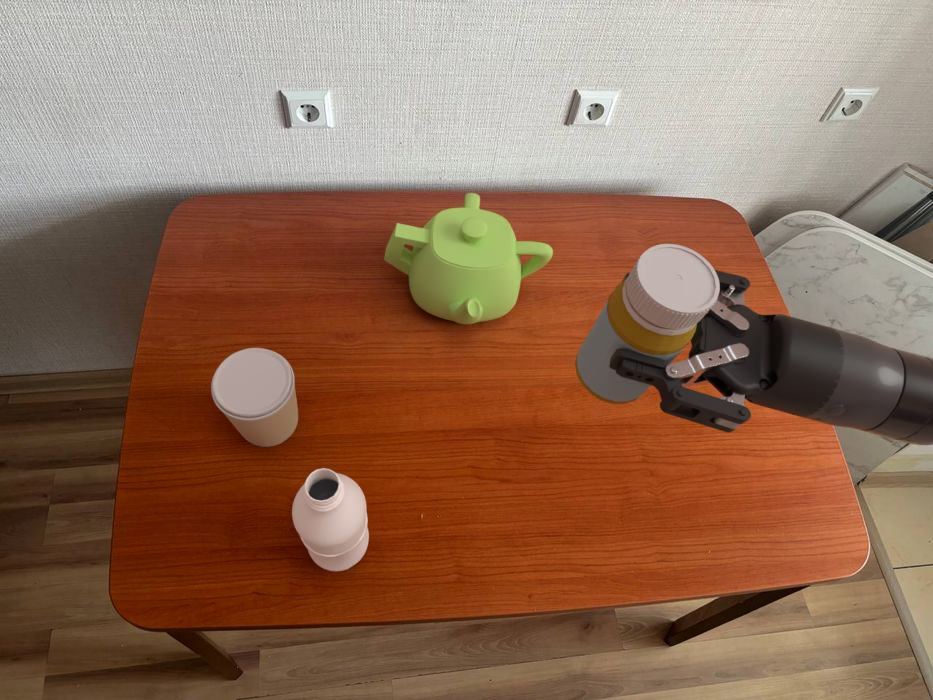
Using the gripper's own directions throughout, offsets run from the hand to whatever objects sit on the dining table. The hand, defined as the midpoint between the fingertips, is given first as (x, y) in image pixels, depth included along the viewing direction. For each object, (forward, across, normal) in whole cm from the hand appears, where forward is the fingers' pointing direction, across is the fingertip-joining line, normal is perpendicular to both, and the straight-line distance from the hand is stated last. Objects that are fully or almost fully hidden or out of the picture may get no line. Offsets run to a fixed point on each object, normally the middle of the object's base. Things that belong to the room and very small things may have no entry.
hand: (618, 318), depth 48 cm
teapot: (+15, +25, -38) cm, 47 cm away
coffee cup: (+35, -4, -38) cm, 51 cm away
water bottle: (+20, -16, -38) cm, 46 cm away
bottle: (-2, 0, -9) cm, 9 cm away
